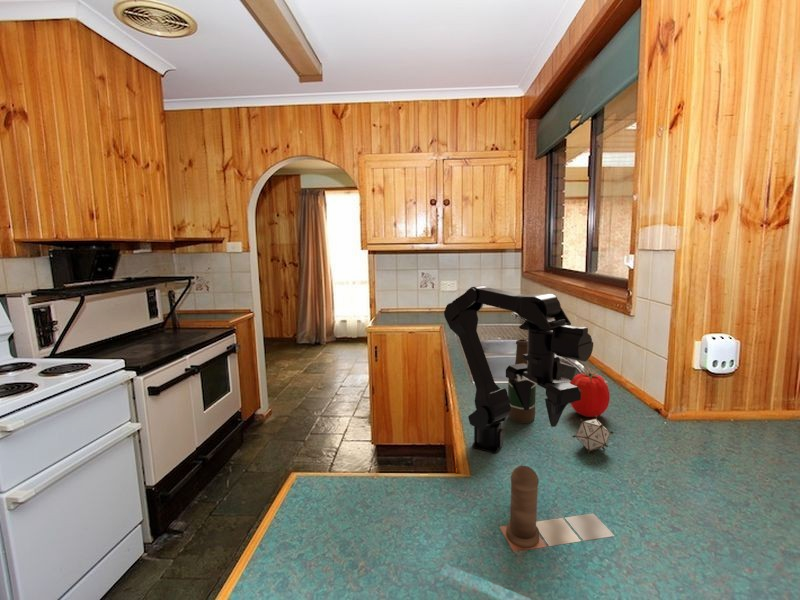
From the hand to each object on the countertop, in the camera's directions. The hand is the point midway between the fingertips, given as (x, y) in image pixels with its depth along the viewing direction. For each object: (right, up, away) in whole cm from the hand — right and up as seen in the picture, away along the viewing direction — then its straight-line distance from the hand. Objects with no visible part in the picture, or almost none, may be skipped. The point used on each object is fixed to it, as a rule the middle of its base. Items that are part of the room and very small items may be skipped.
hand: (539, 417), depth 91 cm
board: (-4, -16, -19) cm, 25 cm away
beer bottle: (+5, -9, +29) cm, 31 cm away
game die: (+17, -11, +11) cm, 23 cm away
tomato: (+25, -8, +30) cm, 40 cm away
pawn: (-10, -15, -20) cm, 27 cm away
